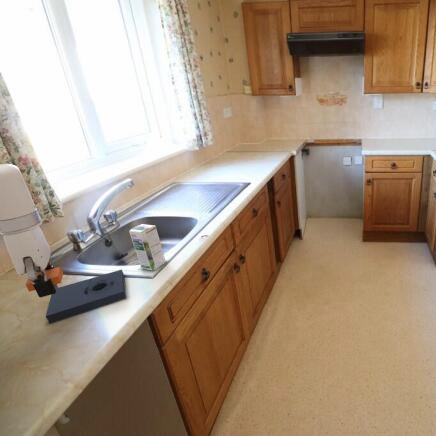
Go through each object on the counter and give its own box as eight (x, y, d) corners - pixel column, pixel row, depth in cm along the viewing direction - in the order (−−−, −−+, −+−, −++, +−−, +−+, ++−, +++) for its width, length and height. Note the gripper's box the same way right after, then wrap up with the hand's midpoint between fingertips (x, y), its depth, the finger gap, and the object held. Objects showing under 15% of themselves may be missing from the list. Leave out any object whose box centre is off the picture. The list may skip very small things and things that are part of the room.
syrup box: (140, 269, 108) (127, 230, 102) (153, 259, 113) (142, 222, 107) (154, 271, 107) (141, 232, 101) (167, 261, 112) (155, 224, 106)
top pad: (33, 300, 75) (25, 284, 74) (36, 289, 79) (29, 274, 77) (64, 291, 78) (57, 276, 76) (66, 281, 82) (60, 266, 80)
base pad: (49, 323, 86) (45, 316, 85) (55, 295, 97) (52, 289, 96) (126, 298, 94) (123, 291, 93) (124, 275, 105) (121, 269, 104)
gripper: (5, 212, 76) (36, 276, 83) (-17, 241, 63) (22, 314, 70) (45, 205, 79) (72, 267, 87) (32, 231, 66) (65, 302, 74)
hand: (49, 288), depth 78 cm, fingers closed on top pad, 5 cm apart
